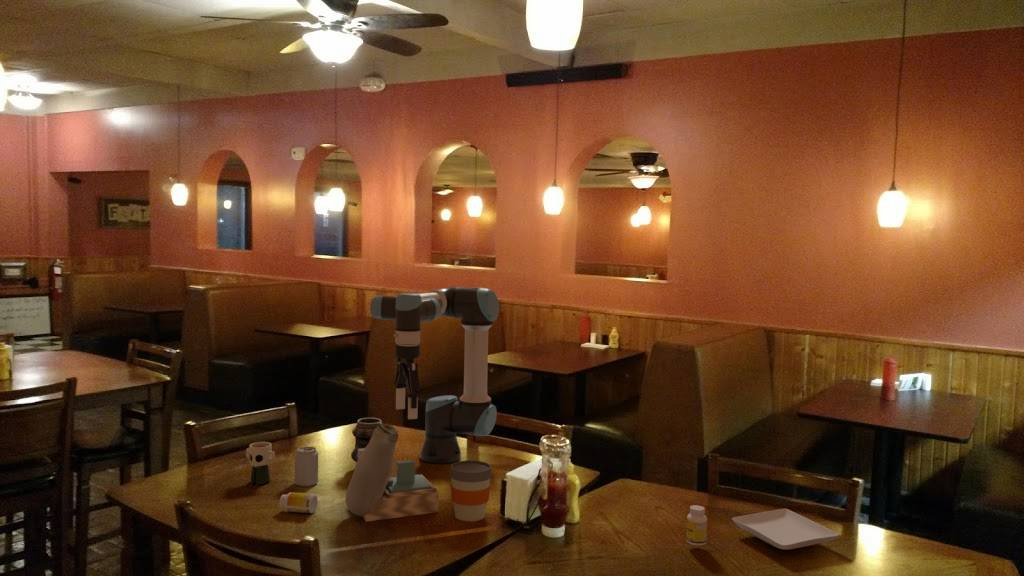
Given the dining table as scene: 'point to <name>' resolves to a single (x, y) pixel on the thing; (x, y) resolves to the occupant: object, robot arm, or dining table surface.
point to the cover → (406, 478)
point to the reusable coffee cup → (470, 489)
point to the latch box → (405, 503)
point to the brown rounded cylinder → (372, 471)
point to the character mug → (260, 461)
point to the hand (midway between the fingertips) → (406, 413)
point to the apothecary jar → (363, 434)
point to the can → (306, 466)
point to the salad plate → (785, 529)
